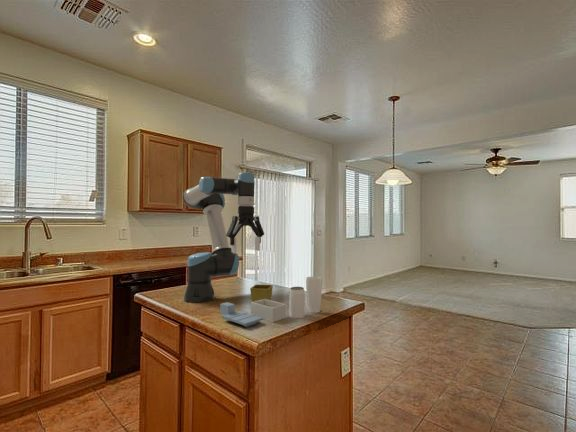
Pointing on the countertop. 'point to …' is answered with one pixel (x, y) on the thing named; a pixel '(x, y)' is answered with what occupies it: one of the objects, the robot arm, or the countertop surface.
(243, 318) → the lid
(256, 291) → the flower pot
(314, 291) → the drinking glass
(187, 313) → the countertop surface
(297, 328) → the countertop surface
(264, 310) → the tub
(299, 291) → the can
